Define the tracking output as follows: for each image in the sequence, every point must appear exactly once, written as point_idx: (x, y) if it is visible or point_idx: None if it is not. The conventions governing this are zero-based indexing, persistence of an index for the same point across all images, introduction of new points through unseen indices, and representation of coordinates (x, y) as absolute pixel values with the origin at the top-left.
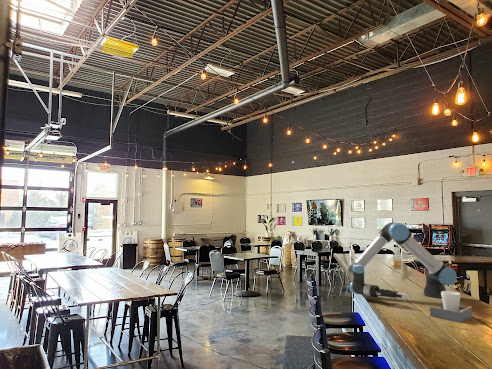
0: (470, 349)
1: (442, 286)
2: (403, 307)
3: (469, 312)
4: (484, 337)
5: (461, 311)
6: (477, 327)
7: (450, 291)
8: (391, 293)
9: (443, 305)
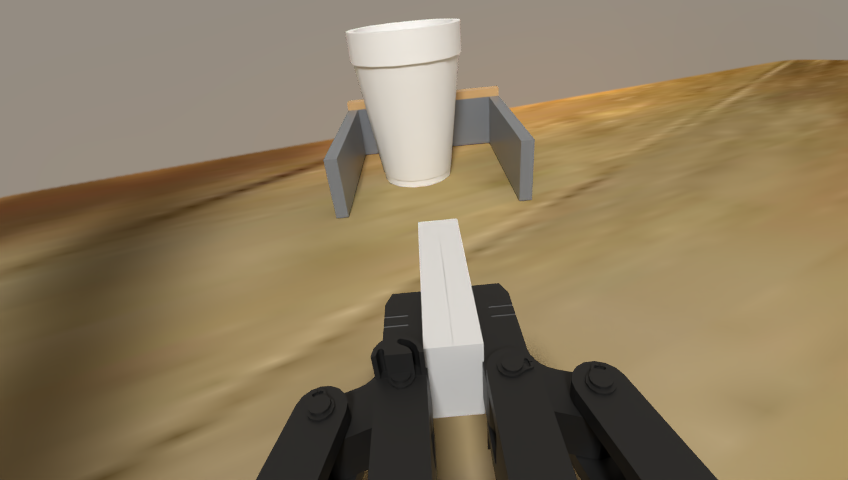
0: (752, 77)
1: None
2: None
3: None
4: (600, 94)
5: (492, 87)
6: None
7: (353, 31)
8: (630, 399)
9: (431, 125)
